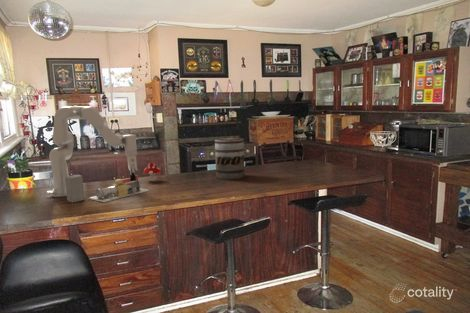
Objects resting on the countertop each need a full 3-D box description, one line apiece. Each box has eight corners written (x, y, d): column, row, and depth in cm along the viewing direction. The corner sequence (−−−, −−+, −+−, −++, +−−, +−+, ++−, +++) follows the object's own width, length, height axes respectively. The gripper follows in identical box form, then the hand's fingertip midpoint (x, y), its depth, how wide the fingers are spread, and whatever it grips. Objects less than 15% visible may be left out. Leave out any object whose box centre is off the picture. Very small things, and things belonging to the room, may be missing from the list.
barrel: (223, 181, 269) (222, 141, 265) (211, 176, 289) (210, 139, 285) (249, 177, 280) (249, 139, 275) (236, 173, 299) (235, 137, 295)
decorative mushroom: (159, 183, 268) (158, 163, 266) (141, 183, 269) (139, 163, 267) (163, 179, 282) (162, 160, 280) (146, 179, 283) (144, 161, 281)
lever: (118, 184, 231) (117, 179, 230) (114, 184, 233) (113, 179, 233) (139, 180, 244) (139, 175, 244) (135, 179, 247) (135, 174, 247)
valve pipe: (103, 202, 217) (103, 191, 216) (89, 199, 226) (88, 188, 225) (148, 191, 244) (147, 180, 243) (133, 188, 253) (133, 178, 252)
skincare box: (79, 198, 228) (77, 174, 226) (85, 200, 224) (83, 175, 221) (66, 201, 222) (64, 176, 219) (72, 203, 217) (69, 177, 215)
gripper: (138, 154, 231) (140, 182, 234) (135, 151, 245) (137, 178, 247) (126, 155, 228) (128, 183, 231) (124, 152, 242) (126, 179, 245)
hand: (133, 180), depth 239 cm, fingers closed
